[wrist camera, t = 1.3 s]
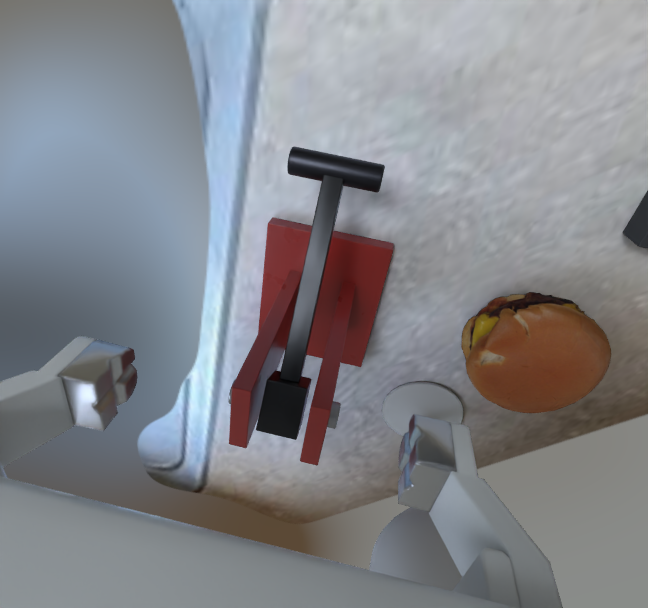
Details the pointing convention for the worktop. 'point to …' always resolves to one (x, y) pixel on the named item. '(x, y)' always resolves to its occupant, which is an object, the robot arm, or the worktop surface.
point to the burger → (534, 352)
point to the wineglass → (414, 524)
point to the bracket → (328, 327)
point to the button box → (639, 225)
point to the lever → (310, 283)
